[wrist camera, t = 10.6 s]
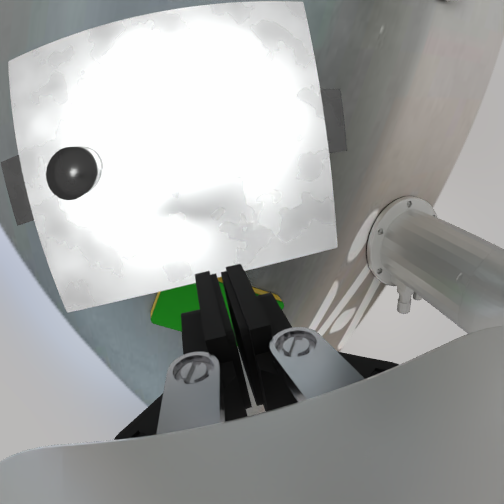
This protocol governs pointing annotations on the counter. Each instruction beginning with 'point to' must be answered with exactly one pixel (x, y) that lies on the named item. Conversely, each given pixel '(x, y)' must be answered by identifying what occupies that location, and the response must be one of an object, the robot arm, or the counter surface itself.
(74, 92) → the lid
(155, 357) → the counter surface
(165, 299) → the dish sponge
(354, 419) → the robot arm
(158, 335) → the counter surface
